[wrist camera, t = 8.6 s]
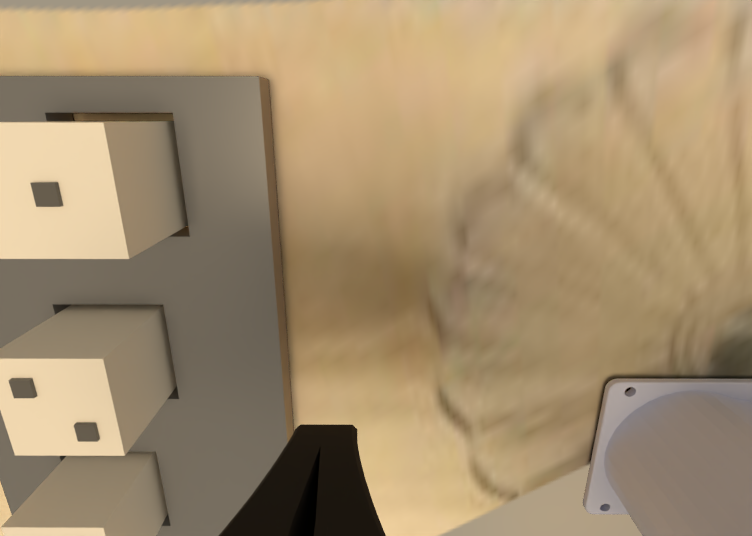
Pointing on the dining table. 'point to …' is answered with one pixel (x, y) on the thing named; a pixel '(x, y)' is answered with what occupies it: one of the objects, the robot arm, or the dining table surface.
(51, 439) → the key two
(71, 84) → the keypad board
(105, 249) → the key one
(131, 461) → the key three
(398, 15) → the dining table surface
